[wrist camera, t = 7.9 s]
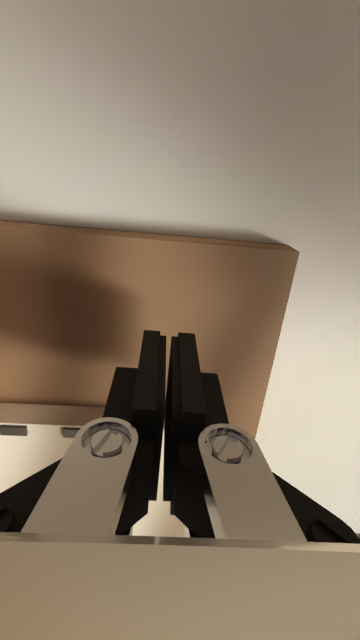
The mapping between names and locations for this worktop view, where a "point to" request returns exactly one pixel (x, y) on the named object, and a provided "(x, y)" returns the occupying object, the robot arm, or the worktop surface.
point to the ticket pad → (126, 330)
